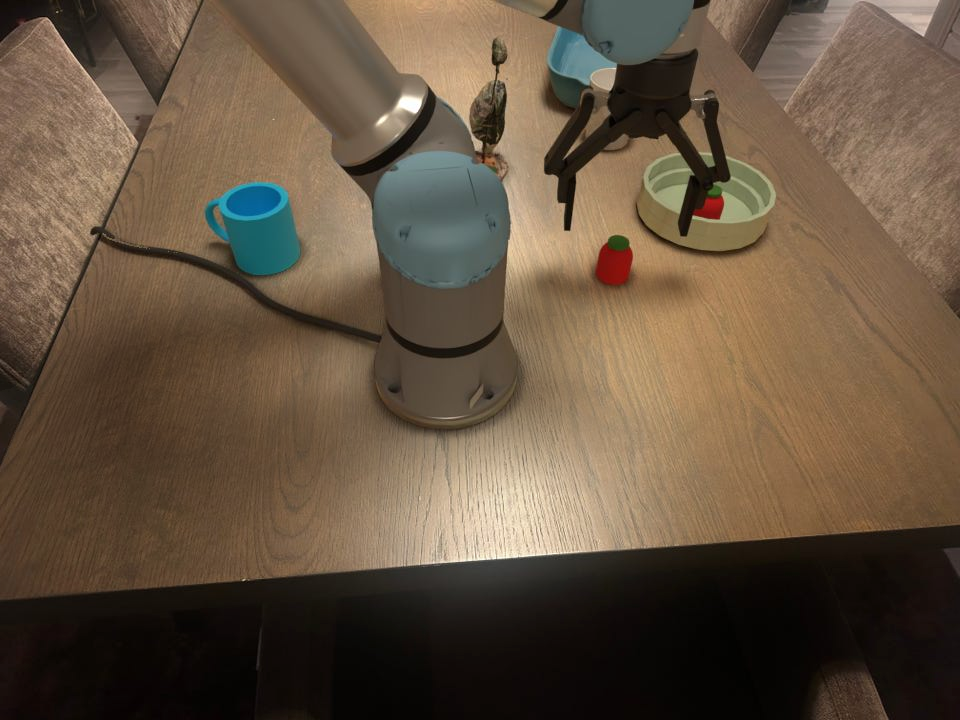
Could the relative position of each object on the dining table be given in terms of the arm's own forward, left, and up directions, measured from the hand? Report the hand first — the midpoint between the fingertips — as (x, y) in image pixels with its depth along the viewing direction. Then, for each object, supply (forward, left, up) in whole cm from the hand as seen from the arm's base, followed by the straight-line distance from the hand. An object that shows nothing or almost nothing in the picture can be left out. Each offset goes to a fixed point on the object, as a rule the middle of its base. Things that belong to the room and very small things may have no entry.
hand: (624, 227), depth 80 cm
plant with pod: (-18, +24, -7) cm, 31 cm away
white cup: (+1, +34, -7) cm, 35 cm away
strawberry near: (+13, +12, -7) cm, 18 cm away
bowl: (+13, +14, -7) cm, 20 cm away
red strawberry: (0, 0, -7) cm, 7 cm away
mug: (-46, 0, -7) cm, 47 cm away
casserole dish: (+3, +56, -7) cm, 57 cm away
